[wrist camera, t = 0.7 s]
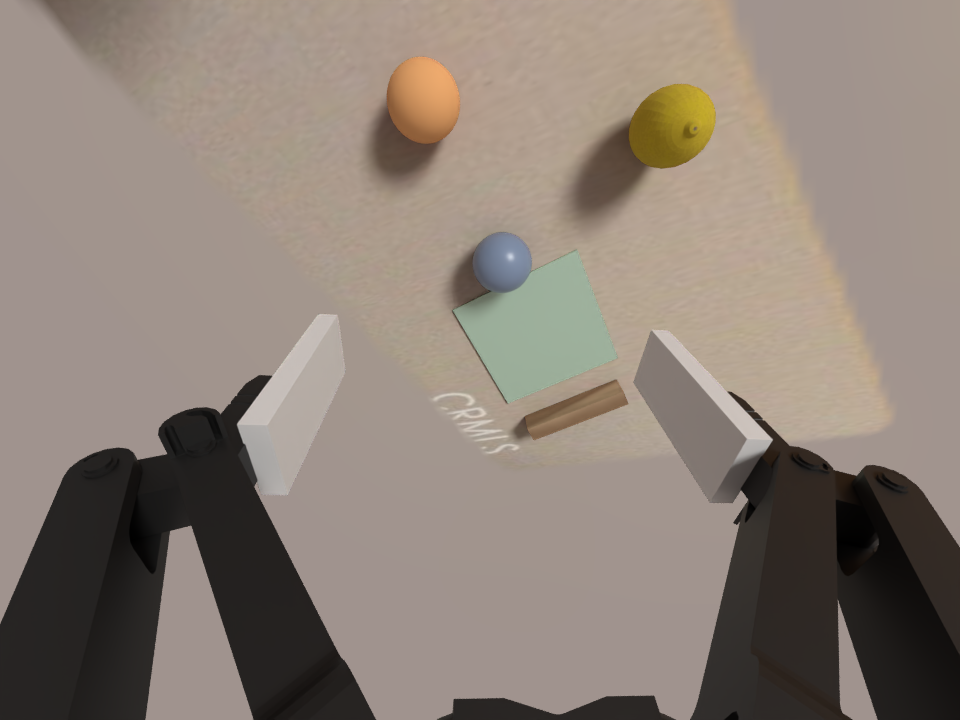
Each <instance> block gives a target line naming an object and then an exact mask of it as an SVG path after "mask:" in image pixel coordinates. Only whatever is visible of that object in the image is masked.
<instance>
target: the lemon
mask: <svg viewBox="0 0 960 720" xmlns="http://www.w3.org/2000/svg"><path fill="white" fill-rule="evenodd" d="M715 117H716V112H715V108H714V105H713V102H712V101H711V99H710V97H709V96H708V95H707V94H706V93H705V92H703V91H702V90H701V89H700V88H697V87H694V86H692V85H688V84H673V85H670V86H666V87H663V88H661V89H659V90H657V91H655V92H654V93H652V94H651V95H649V96H648V97H647V98H646V99H645V100H644V101H643V102H642V103H641V104H640V106H639V107H638V109H637V110H636V111H635V113H634V116H633V118H632V120H631V124H630V128H629V142H630V147H631V149H632V151H633V153H634V155H635V156H636V157H637V158H638V159H639V160H640V161H641V162H642V163H644V164H646V165H648V166H650V167H655V168H671V167H676V166H678V165H681V164H683V163H686V162H688V161H689V160H691V159H692V158H694V157H695V156H696V155H697V154H698V153H699V152H700V151H701V150H702V149H703V148H704V147H705V146H706V144H707V143H708V141H709V140H710V138H711V135H712V133H713V130H714V126H715Z"/></svg>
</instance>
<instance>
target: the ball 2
mask: <svg viewBox="0 0 960 720" xmlns="http://www.w3.org/2000/svg"><path fill="white" fill-rule="evenodd" d="M531 266H532V258H531V254H530V251H529V248H528V247H527V245H526V244H525V242H524V241H523V240H522V239H520V238H519V237H518V236H516V235H514V234H511V233H506V232H499V233H494V234H491V235H489V236H487V237H486V238H485V239H483V240H482V241H481V242H480V243H479V245H478V246H477V248H476V250H475V252H474V256H473V271H474V274H475V276H476V278H477V280H478V281H479V282H480V284H481V285H482V286H483V287H485V288H486V289H488V290H490V291H492V292H496V293H508V292H511V291H514V290H516V289H518V288H519V287H520V286H521V285H522V284H523V283H524V282H525V281H526V280H527V278H528V276H529V274H530V271H531Z"/></svg>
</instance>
